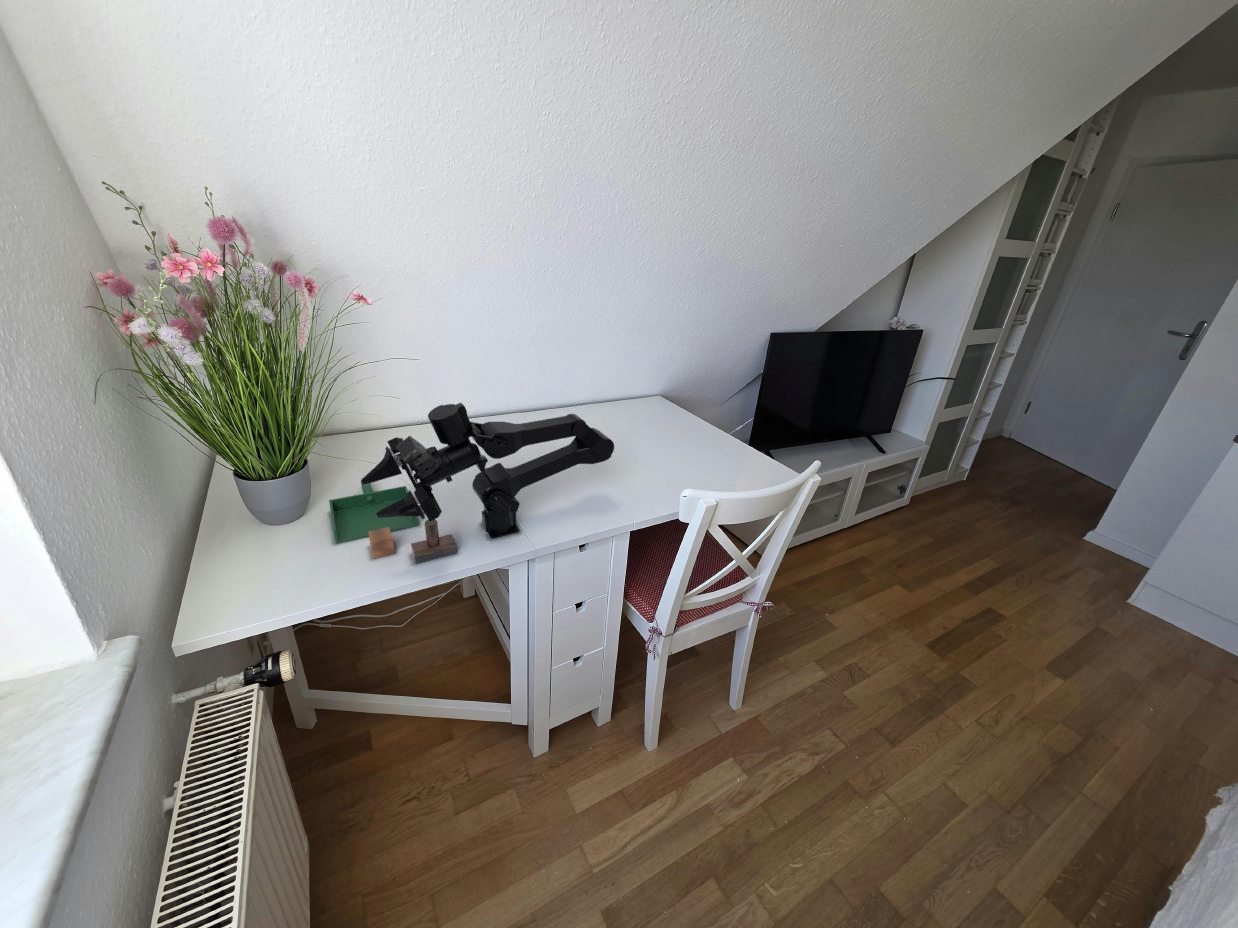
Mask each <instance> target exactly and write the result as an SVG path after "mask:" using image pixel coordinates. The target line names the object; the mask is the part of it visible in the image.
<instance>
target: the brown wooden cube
mask: <svg viewBox="0 0 1238 928" xmlns="http://www.w3.org/2000/svg"><path fill="white" fill-rule="evenodd" d="M368 535H369V537H368V539H369V540H368V541H369V546H370V549H371V553H372V554H371V555H372V557H373V559H378V558H382V557H385V556H391V555H394V554H396V550H395V545H394V538H393V534H392V531H390V528H389V527H387V528H382V529H377V530H373V531H368Z"/></svg>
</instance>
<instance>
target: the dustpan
mask: <svg viewBox="0 0 1238 928" xmlns="http://www.w3.org/2000/svg"><path fill="white" fill-rule="evenodd" d="M360 485H361V489H362V492H363V493H359V494H354V495H348V496H343V497H339V498H334V499H329V500H328V502H329V508H330V517H331V524H332V530H333V536H334V539H335V544H341V543H345V542H351V541H356V540H360V539H363V538H369V535H368V531H373V530H377V529H382V528H387V527H389V528H390V531H391V532H396V531H400V530H404V529H408V528H414V527H418V526H419V522H418V517H416V516H400V517H384V518H378V517H377V515H376V513H377V512H379V511H380V510H382V509H384V508H386V507H388V506H390V505H392V504H394V503H396V502H397V501H399V500H401V499H403V498H404V497H405V496H406V494H407V493H408V491H409V490H408V487H407V486H406V485H404V486H398V487H391V488H387V489H382V490H375V491H374V490H373V487H372V483H368V484H363V483H362V481H361V480H360Z"/></svg>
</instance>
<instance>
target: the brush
mask: <svg viewBox="0 0 1238 928" xmlns="http://www.w3.org/2000/svg"><path fill="white" fill-rule="evenodd" d="M424 530H425V538H426V539H425V540H420V541H415V542H412V543H410V547H411V553H412V558H413V561H414V563H415V564H416V565H418V564H420V563H424V562H428V561H433V560H436V559H441V558H444V557H448V556H452V555H456V554H457V545H456V540H455V537H454V536H453V534H452V533H449V534H446V535H441V536H440V532H439V524H438V520H437V518H436V519H434V520H432V521H431V522H430V521H429V520H428V519H426V520H425V521H424Z"/></svg>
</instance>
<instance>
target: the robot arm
mask: <svg viewBox="0 0 1238 928" xmlns="http://www.w3.org/2000/svg"><path fill="white" fill-rule="evenodd" d="M427 418H428V421H429V422H430V424H431V426H432V429H433V430H434V433H435V435H436V437H437V439H438V441H439V443H440V444H443V445H446V446H444V447H440V448H439V449H437V447H436V446H430V447H425V446H424V445H423V444H422V443H420V442H419V441H418V440H417V439H415V438H414V437H412V436H411V435H408V436H407V437H406V438H405V439H403V438H402V437H394V438H391V439H389V440H387V441H386V442H387V445H388V446H389V447H388V446H386V447H385V448H384V449H385V453H384V455H383V458H382V459H381V460H380V462H379V463H378V464H376V466H374V467H373V468H372V469H371V470H370V471H368V473H366V475H364V476H363V478H361V480H360V482H361V481H362V483H363V484H368V483H371V484H372V483H376V482H379V481H382V480H385V479H389V478H393V477H395V476H399V475H402V474H403V473H402V470H404V471H405V473H406V475H407V476H408V479H409V480H410V482H411V484H412V486H413V488H414V489H415V490H414V491H413V493H414V494H413V493H412V491H411V490H408V493H407V494H406V496H405V497H404V498H403V499H401V500H399V499H398V500H399V501H397V502H396V503H394V504H392V505H390V506H388V507H386V508H384V509H382V510H380V511H379V512H377V513H376V515H377V517H378V518H384V517H400V516H416V517H417V518H418V517H421V519H422V520H425V519H426V518H427V520H429V521H430V522H431V521H432V520H434V519H436V520H437V519H438V518H439V517H440V516H441V514H442V512H443V510H442V509H441V506H440V505H439V502H438V501H437V499H436V497H435V495H434V493H433V490H434V489H433V487H432V486H434V485H436V484H438V483H441V482H443V481H444V480H446V482H447V483H451V482H453V478H452V477H453V476H455V475H457V474H459V473H462V472H463V471H466V470H467V469H470V468H472V467H475V466H476V467H477V469H478V470H479V471H480V472H478V473H477V474H476V475H474V479H473V480H472V485H471V486H472V490H473V491H474V493H475V494H476V496H477V497H478V499H479V500H480V501H481V503H482V505H483V510H481V524H482V525H481V526H482V528H483V530H484V531H485V533H487V535H488V537H489V538H490V539H497V538H501V537H505V536H508V535H513V534H516V533H519V532H520V528H519V527H518V525H517V512H518V510H519V508H520V504H521V503H520V502H519V500H518V499H517V497H516V496H517V494H518V493H519V492H520V491H521V490H522V489H524V488H526V487H528V486H531V485H533V484H535V483H538V482H540V481H542V480H545V479H547V478H549V477H552V476H554V475H556V474H559V473H561V472H563V471H566V470H569V469H570V468H573V467H575V466H577V465H595V464H599V463H603V462H606V461H608V460H609V459H611V458H612V455H613V453H614V451H615V444H614V441H613V440H612V439H611V438H609V437H608V436H607V435H605V434H604V433H603V432H602V431H600V430H599V429H598V428H595V427H590V426H589V425H588V424H587V422H586V420H584V419H582V418H581V417H580V416H579V415H578V414H576V413H569V414H567V415H564V416H557V417H552V418H546V419H540V420H539V419H538V420H533V421H528V422H522V423H513V422H508V421H487V422H484V423H480V422H474V421H470V418H469V416H468V411H467V408H466V406H465V405H464V404H463V402H459V403H456V404H455V403H448V404H447V403H446V404H440V405H438V406H435V407H434V408H432V409H431V410H430V411H429V413H428V414H427ZM572 437H574V438H573V439H572V441H571V442H570V443H569V444H568V445H565V446H563V447H560V448H558V449H556V450H553V451H550V452H548V453H546V454H544V455H540V456H539V457H536V458H533V459H531V460H529V461H526V462H523V463H521V464H518V465H516V466H514V467H504V465H503V464H502V462H497V463H495V464H493V465H492V466H490V467H486V465H487V463H488V461H489V459H488V458H487V456H489V457H490V458H491V459H494V460H499V459H502V458H506V457H508V456H511V455H514V454H516V453H517V452H518V451H519V450H521V449H522V448H524V447H528V446H532V445H537V444H541V443H542V444H543V443H547V442H553V441H557V440H563V439H567V438H568V439H569V438H572ZM470 438H472V440H473V441H474V442H475V443H474V442H472V441H471V439H470ZM479 447H480V448H481V449H482V450H483V451H484V453H485V454H486V455H487V456H486V455H484V454H482V453H481V450H480V449H479ZM400 468H401V469H402V470H401V469H400ZM418 480H419V481H418ZM425 516H426V517H425Z"/></svg>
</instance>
